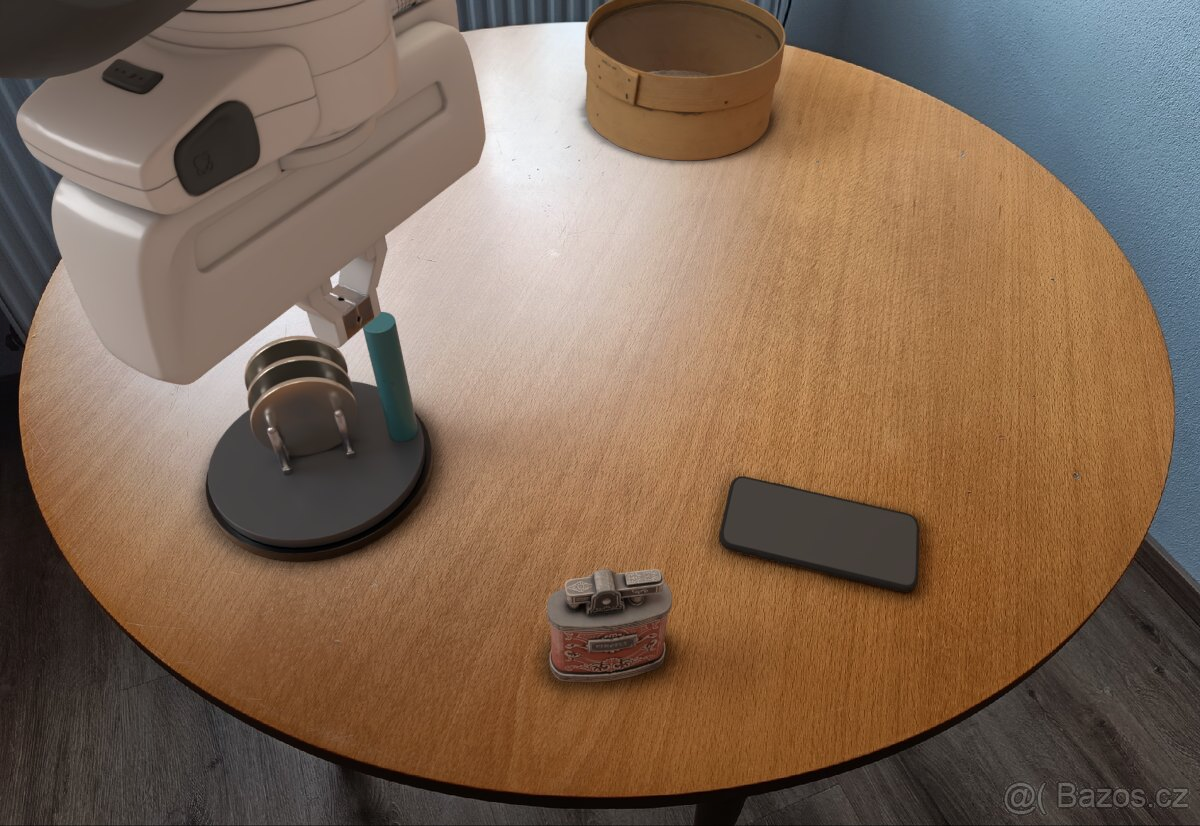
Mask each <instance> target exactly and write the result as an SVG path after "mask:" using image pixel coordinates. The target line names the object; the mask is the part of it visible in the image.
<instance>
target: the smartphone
mask: <svg viewBox="0 0 1200 826" xmlns="http://www.w3.org/2000/svg"><path fill="white" fill-rule="evenodd" d="M722 515H723V516H722V519H721V525H720V529H719V532H718V535H719V536H718V538H719V539H718V540H719V544H720V545H721V546H722V547H723V548H724V549H726V550H727V551H730V552H734V553H739V554H741V555H745V556H752V557H755V558H757V559H761V560H765V561H769V562H770V561H772V562H774V563H777V564H782V565H787V566H793V567H797V568H801V569H806V570H809V571H812V572H813V571H814V572H817V573H820V574H821V573H822V574H827V575H830V576H835V577H839V578H843V579H846V580H850V581H855V582H859V583H863V584H867V585H871V586H876V587H879V588H885V589H889V590H892V591H896V592H897V591H898V592H901V593H910V592H912V591H913V590H914V589H915V588H916V587H917V585H918V581H919V558H920V556H919V554H920V551H919V550H920V525H919V522H918V520H917V518H916V517H915V516H914V515H912V514H911V513H907V512H903V511H900V510H899V511H898V510H894V509H890V508H885V507H881V506H877V505H872V504H868V503H864V502H860V501H854V500H851V499H846V498H841V497H837V496H833V495H828V494H824V493H820V492H815V491H810V490H807V489H803V488H798V487H796V486H790V485H787V484H782V483H778V482H772V481H767V480H762V479H758V478H753V477H750V476H744V475H740V476H737V477H735V478H734V479H733V480H732V481H731V483H730V484H729V488H728V493H727V497H726V501H725V508H724V511H723V514H722Z"/></svg>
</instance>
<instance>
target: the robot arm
mask: <svg viewBox="0 0 1200 826" xmlns="http://www.w3.org/2000/svg"><path fill="white" fill-rule="evenodd" d="M0 78H1V79H2V78H3V79H11V80H41V79H46V80H45V81H44V82H43V83H42V84H41V85H40V86H39V87H37V89H36V90H34V91H33V92H32V93H31V94H30V95H29V97H27V98H26V100H24V102H23V103H22V104H21V106H20V108H19V109H18V111H17V114H16V128H17V131H18V133H19V136H20V138H21V140H22V142H23V144H24V145H25V147H26V148H27V149H28V151H29V152H30V154H31V155H32V156H33V157H34V158H35V159H36V160H37V161H39V162H40V163H42V164H43V165H45V166H46V167H48V168H49V169H51V170H52V171H54V172H56V174H59V175H60V176H62V177H61V179H60V180H59V182H58V184H57V185H56V188H55V191H54V194H53V198H52V202H51V224H52V231H53V234H54V238H55V242H56V245H57V247H58V250H59V254H60V256H61V259H62V262H63V264H64V267H65V270H66V272H67V275H68V277H69V279H70V282H71V285H72V288H73V289H74V292H75V294H76V296H77V298H78V300H79V303H80V305H81V307H82V310H83V311H84V314H85V315H86V318H87V319H88V321H89V323H90V325H91V327H92V329H93V331H94V332H95V335H96V336H97V338H98V339H99V341H100V342H101V344H102V346H103V347H104V348H105V349H106V350H107V351H108V353H110V354H111V355H112V356H113V357H115V358H116V359H117V360H119V361H120V362H122V363H123V364H125V365H126V366H128V367H130V368H132V369H133V370H135V371H137V372H138V373H141V374H143V375H145V376H147V377H149V378H152V379H153V380H157V381H161V382H165V383H168V384H173V385H177V386H178V385H180V386H187V385H191V384H193V383H195V382H196V381H197V380H198V381H199V379H201V378H202V377H204V375H206V374H207V373H208V372H209V371H211V370H212V369H213V368H215V367H216V366H217V365H218V364H220V363H221V362H222V361H224V360H225V359H226V358H228V357H229V356H230V355H231V354H233V353H234V352H235V351H237V350H239V348H240V347H242V346H243V345H245V344H246V343H247V342H248V341H250V340H251V339H252V338H254V337H255V336H256V335H257V334H259V333H260V332H262V331H263V330H264V329H266V328H267V327H268V326H270V324H272V323H273V322H275V321H276V320H277V319H278V318H280V317H281V316H282V315H284V314H285V313H286V312H287V311H289V310H291V308H293V307H294V306H296V307H298V308H299V309H301V310H302V311H304V312H305V313H306V315H307V318H308V321H309V324H310V328H311V330H312V333H313V334H314V337H316V338H318V339H319V340H321V341H323V342H325V343H327V344H329V345H331V346H334V347H336V348H337V349H340V348H341V347H342V346H344V345H345V344H346V343H347V342H348V341H350V340H351V338H353V337H354V336H356V335H357V334H358V332H360V331H361V330H363V327H365V326H366V325H367V324H368V323H370V322H371V321H372V320H373V319H374V318H375V317H377V316H378V315H379V314H380V312H382V309H381V306H380V300H379V296H378V291H377V289H378V287H379V285H380V284H379V283H380V281H381V276H382V271H383V268H384V264H385V261H386V257H387V252H388V243H387V239H386V236H387V235H388V234H389V233H391V232H392V231H393V230H395V229H396V228H397V227H399V226H400V225H401V224H402V223H404V222H405V221H407V220H408V219H409V218H410V217H412V216H413V215H414V214H416V213H417V212H418V211H419V210H421V209H422V208H424V207H425V206H426V205H427V204H428V203H430V202H431V201H433V200H434V199H435V198H437V197H438V196H439V195H441V194H442V193H443V192H444V191H446V190H448V189H449V188H450V187H451V186H452V185H453V184H454V183H456V182H457V181H459V180H460V179H461V178H462V177H464V176H465V175H466V174H468V173H469V172H470V171H471V170H473V169H475V168H476V167H477V165H478V164H479V163H480V160H481V159H482V158H481V157H482V154H483V151H484V148H485V143H486V139H487V138H486V137H487V136H486V135H487V134H486V133H487V132H486V127H485V126H486V125H485V119H484V112H483V106H482V105H483V104H482V100H481V94H480V90H479V84H478V80H477V75H476V71H475V66H474V61H473V58H472V54H471V51H470V48H469V45H468V42H467V41H466V39H465V36H464V35H463V34H462V33H461V31H460V23H459V14H458V5H457V0H0ZM338 272H339V274H338V284H336V285H335V286H334V287H333V285H332V279H331V278H332V277H334V275H336V274H337V273H338Z"/></svg>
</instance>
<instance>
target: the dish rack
mask: <svg viewBox="0 0 1200 826" xmlns="http://www.w3.org/2000/svg"><path fill="white" fill-rule="evenodd" d="M362 331H363V335H364V339H365V343H366V348H367V352H368V354H369V360H370V363H371V368H372V371H373V375H374V380H375V385H372V384H369V383H364V382H360V381H354V380H353V381H352V380H351V378H350V377H351V376H349V369H348V363H347V361H346V358H345V356H344V354H343V353H342V352H341V351H340V350H339V348H336V347H334V346H331V345H329V344H327V343H325V342H323V341H321V340H319V339H318V338H317V337H316V336H310V335H290V336H284V337H281V338H278V339H274V340H272V341H270V342H267V343H266V344H264V345H263V346H260V348H259V349H257V350H256V351H255V352H254V353H253V355H251V357H250V358H249V359H248V361H247V364H246V365H245V368H244V372H243V373H244V375H243V378H244V386H245V389H246V391H247V395H246V400H247V407H248V409H247V410H246V411H245V412H243V413H242V414H241V415H240V416H238V418H237V419H235V420H234V422H233V423H232V424H230V426H229V427H228V428H226V430H225V432H224V433H223V434H222V436H221V437H220V438H219V440H218V442H217V444H216V445H215V447H214V449H213V451H212V454H211V457H210V459H209V463H208V468H207V472H208V485H209V491H210V494H211V497H212V499H213V502H214V504H215V506H216V508H217V510H218V511H219V513H220V514H221V516H222V517H223V519H224V520H225V521H226V522H227V523H228V524H229V525H230V526H231V527H232V528H234V529H235V530H237V531H238V532H239V533H241V534H243V535H245V536H247V537H248V538H250V539H253V540H256V541H258V542H261V543H264V544H269V545H274V546H280V547H291V548H296V547H313V546H320V545H326V544H330V543H334V542H338V541H341V540H344V539H347V538H350V537H353V536H355V535H357V534H359V533H361V532H364V531H366V530H367V529H369V528H371V527H373V526H374V525H376V524H378V523H379V522H381V521H382V520H383V519H385V518H386V517H388V516H389V515H390V514H391V513H392V512H394V511H395V510H396V509H397V508H398V507H399V506H400V505H401V504H402V503H403V502H404V500H405V499H406V498H407V497H408V496H409V494H410V493H411V491H412V490H413V488H414V487H415V485H416V483H417V481H418V479H419V477H420V475H421V472H422V469H423V465H424V460H425V442H424V437H423V432H422V428H421V425H420V423H419V421H418V418H417V417H416V415H415V413H416V411H415V408H414V404H413V398H412V393H411V389H410V384H409V379H408V374H407V370H406V369H407V368H406V365H405V359H404V356H403V350H402V346H401V340H400V336H399V331H398V326H397V321H396V318H395V316H394V315H393V314H391V313H390V312H387V311H381V312H380V314H379V315H378V316H377V317H375V318H374V319H373V320H372V321H371V322H370V323H368V324H367V325H366V326H365V327H363V328H362Z"/></svg>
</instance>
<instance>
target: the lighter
mask: <svg viewBox="0 0 1200 826" xmlns="http://www.w3.org/2000/svg"><path fill="white" fill-rule="evenodd" d="M664 578H665V577H664V573H663V571H661V570H660V569H658V568H651V569H643V570H636V571H627V572H618V573H617V572H616V571H613V570H612V569H610V568H602V569H597V570H595V571H593V573H592V574H589V575H588V576H586V577H585V576H584V577H577V578H570V579H567V580H566V581H565V583H564V587H563V588H561V589H558V590H556V591H554V592H553V593H551V595H549V597H548V599H547V601H546V618H547V620H548V623H549V627H550V643H551V644H550V647H551V650H550V652H549V667H550V670H551V673H552V674H553V675H554V677H555V678H557V679H558V680H559V681H564V682H574V683H575V682H576V683H578V682H579V683H594V682H595V683H596V682H608V681H610V682H611V681H617V680H621V679H626V678H630V677H635V676H639V675H641V674H644V673H647V672H651V671H653V670H656V669H657V668H659V667H660V666H661V665H662V664H663V662H664V659H665V655H666V643H665V637H666V629H667V622H668V617H669V616H668V615H669V613H671V609H672V607H673V591H672V590H671V587H670V586H669V585H668V584H667V583H666V582H665V579H664Z"/></svg>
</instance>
